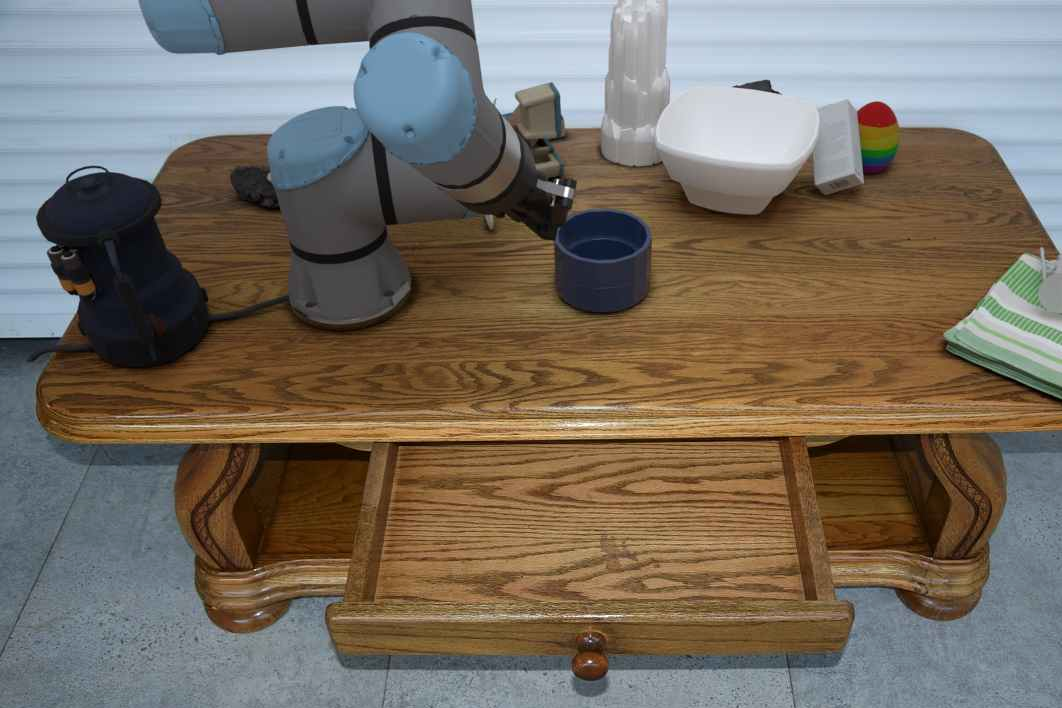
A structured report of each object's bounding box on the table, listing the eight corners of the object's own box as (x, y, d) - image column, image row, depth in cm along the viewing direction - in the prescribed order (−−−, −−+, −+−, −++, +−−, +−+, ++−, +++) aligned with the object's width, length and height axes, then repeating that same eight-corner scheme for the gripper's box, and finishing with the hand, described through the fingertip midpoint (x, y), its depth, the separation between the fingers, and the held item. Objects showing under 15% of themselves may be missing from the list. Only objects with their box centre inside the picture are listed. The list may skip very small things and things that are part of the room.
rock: (209, 175, 131) (258, 123, 131) (231, 187, 139) (278, 138, 139) (273, 235, 131) (322, 183, 131) (291, 243, 140) (337, 194, 140)
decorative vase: (664, 170, 143) (672, 2, 126) (595, 163, 145) (594, -4, 127) (674, 136, 151) (683, -26, 134) (608, 130, 152) (609, -31, 135)
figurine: (1049, 267, 110) (1045, 230, 120) (1030, 305, 113) (1028, 266, 123) (1095, 280, 109) (1087, 241, 119) (1075, 318, 112) (1069, 278, 122)
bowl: (792, 251, 127) (804, 174, 119) (635, 222, 132) (637, 147, 124) (819, 172, 142) (831, 99, 134) (677, 149, 147) (681, 78, 139)
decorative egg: (888, 152, 146) (902, 91, 140) (897, 179, 140) (912, 116, 134) (835, 150, 147) (846, 89, 140) (841, 177, 141) (854, 115, 134)
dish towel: (935, 348, 112) (940, 330, 110) (1014, 263, 125) (1019, 246, 123) (1087, 413, 103) (1095, 394, 101) (1155, 314, 116) (1163, 296, 114)
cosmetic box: (864, 185, 135) (858, 110, 138) (854, 174, 131) (848, 97, 134) (824, 196, 138) (819, 123, 141) (813, 185, 135) (807, 110, 137)
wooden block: (507, 151, 139) (525, 126, 145) (532, 150, 138) (549, 125, 144) (500, 125, 137) (519, 102, 142) (526, 124, 136) (543, 100, 141)
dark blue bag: (80, 310, 117) (104, 418, 105) (6, 165, 102) (24, 272, 90) (201, 277, 122) (237, 377, 110) (148, 133, 106) (183, 232, 95)
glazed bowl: (558, 318, 117) (556, 265, 111) (553, 262, 125) (551, 210, 120) (654, 313, 117) (657, 259, 112) (643, 258, 126) (645, 206, 121)
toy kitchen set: (484, 49, 141) (551, 37, 144) (494, 137, 151) (556, 125, 154) (522, 99, 129) (594, 85, 131) (529, 191, 139) (596, 177, 141)
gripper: (564, 123, 74) (618, 201, 97) (413, 102, 77) (500, 183, 100) (545, 216, 74) (603, 272, 97) (394, 192, 77) (485, 252, 100)
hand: (551, 227), depth 99 cm, fingers closed
